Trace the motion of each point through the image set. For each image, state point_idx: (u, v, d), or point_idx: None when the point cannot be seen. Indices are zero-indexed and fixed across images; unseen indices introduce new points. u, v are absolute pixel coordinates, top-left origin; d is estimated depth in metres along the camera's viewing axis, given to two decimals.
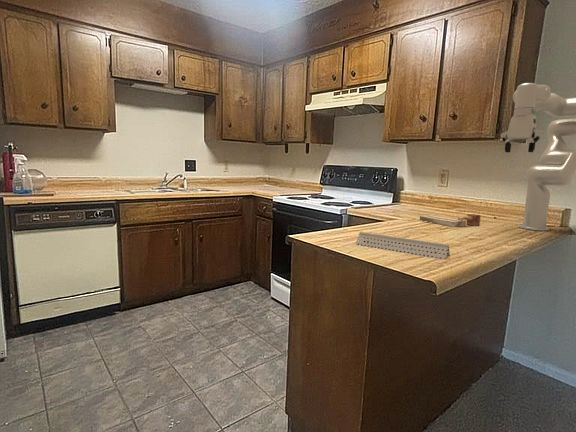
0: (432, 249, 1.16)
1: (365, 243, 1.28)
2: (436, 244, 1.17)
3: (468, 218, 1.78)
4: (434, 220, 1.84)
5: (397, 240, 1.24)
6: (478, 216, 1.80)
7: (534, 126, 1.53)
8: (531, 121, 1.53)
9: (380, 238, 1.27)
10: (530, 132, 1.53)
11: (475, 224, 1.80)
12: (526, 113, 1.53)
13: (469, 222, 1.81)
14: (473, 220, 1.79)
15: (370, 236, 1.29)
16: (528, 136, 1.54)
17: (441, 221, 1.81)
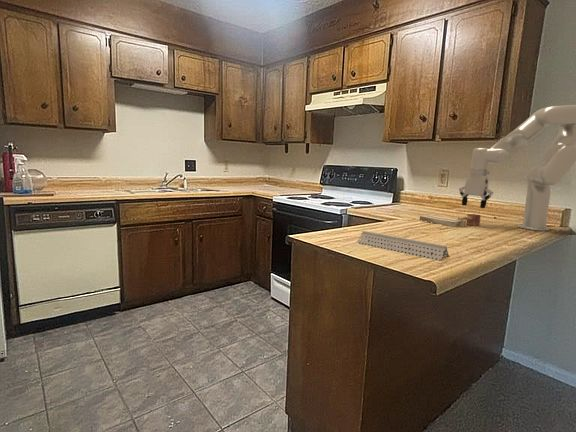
0: (429, 250, 1.15)
1: (366, 242, 1.30)
2: (434, 245, 1.15)
3: (468, 218, 1.78)
4: (434, 220, 1.84)
5: (397, 240, 1.24)
6: (478, 216, 1.80)
7: (486, 186, 1.75)
8: (483, 181, 1.74)
9: (381, 237, 1.28)
10: (482, 191, 1.75)
11: (475, 224, 1.80)
12: (479, 174, 1.75)
13: (469, 222, 1.81)
14: (473, 220, 1.79)
15: (372, 235, 1.31)
16: (480, 194, 1.75)
17: (441, 221, 1.81)
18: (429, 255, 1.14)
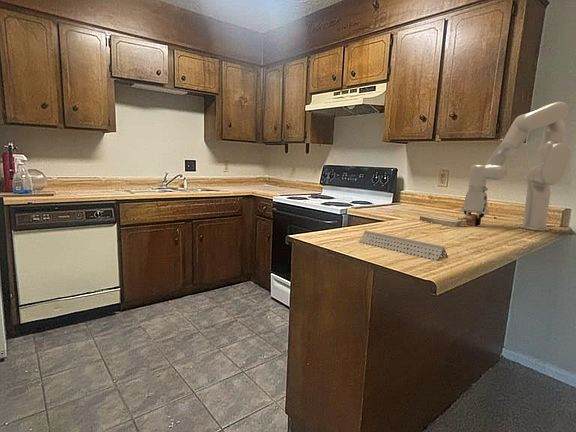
0: (427, 250, 1.15)
1: (367, 241, 1.31)
2: (432, 245, 1.15)
3: (468, 218, 1.78)
4: (434, 220, 1.84)
5: (396, 240, 1.24)
6: None
7: (485, 202, 1.76)
8: (482, 198, 1.75)
9: (382, 237, 1.29)
10: (481, 207, 1.76)
11: None
12: (478, 191, 1.76)
13: (469, 222, 1.81)
14: (473, 220, 1.79)
15: (373, 235, 1.32)
16: (480, 211, 1.77)
17: (441, 221, 1.81)
18: (426, 255, 1.14)
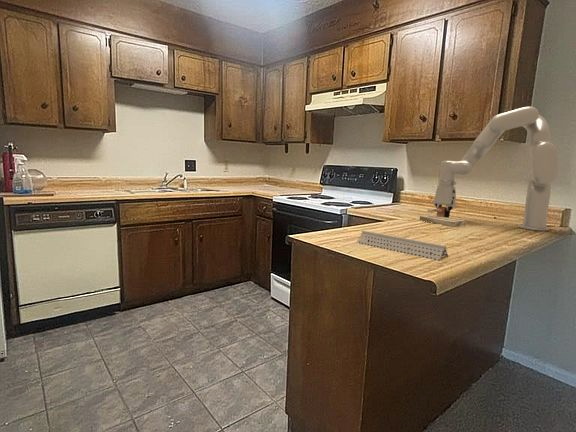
0: (428, 250, 1.16)
1: (366, 242, 1.31)
2: (433, 245, 1.16)
3: (437, 210, 1.90)
4: (434, 220, 1.84)
5: (396, 240, 1.24)
6: None
7: (453, 195, 1.88)
8: (450, 192, 1.88)
9: (380, 237, 1.29)
10: (450, 200, 1.88)
11: (444, 216, 1.92)
12: (447, 185, 1.88)
13: (439, 214, 1.93)
14: (442, 212, 1.91)
15: (371, 235, 1.31)
16: (448, 203, 1.89)
17: (441, 221, 1.81)
18: (428, 255, 1.14)
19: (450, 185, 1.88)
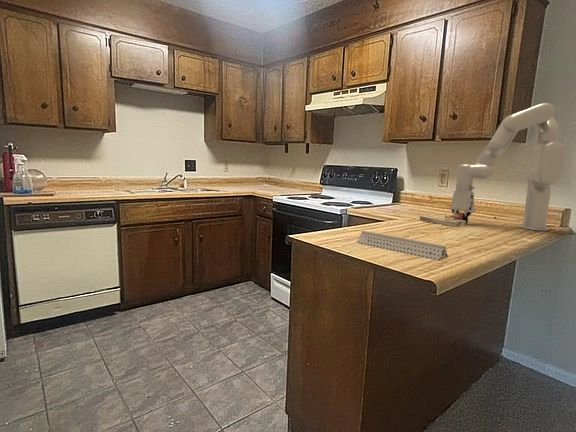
0: (428, 250, 1.16)
1: (365, 242, 1.31)
2: (432, 245, 1.16)
3: (455, 216, 1.82)
4: (434, 220, 1.84)
5: (396, 240, 1.24)
6: None
7: (471, 201, 1.80)
8: (469, 197, 1.79)
9: (380, 237, 1.29)
10: (468, 206, 1.80)
11: None
12: (465, 190, 1.80)
13: None
14: (460, 218, 1.83)
15: (371, 235, 1.31)
16: (467, 209, 1.81)
17: (441, 221, 1.81)
18: (428, 255, 1.14)
19: (468, 190, 1.80)
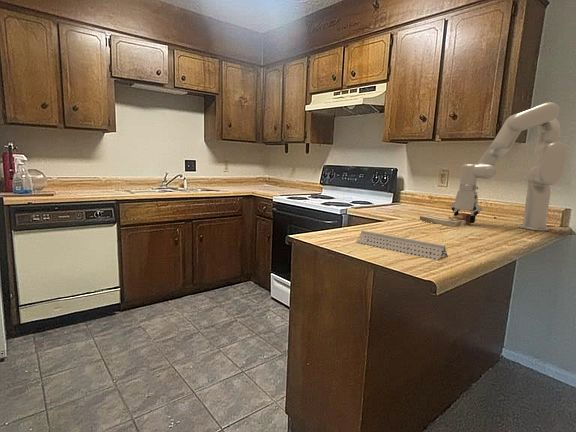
0: (428, 249, 1.16)
1: (365, 241, 1.31)
2: (432, 244, 1.16)
3: (459, 217, 1.80)
4: (434, 220, 1.84)
5: (395, 239, 1.25)
6: (469, 215, 1.82)
7: (475, 201, 1.79)
8: (472, 197, 1.78)
9: (380, 237, 1.29)
10: (472, 206, 1.78)
11: (466, 223, 1.82)
12: (468, 190, 1.78)
13: None
14: (464, 219, 1.82)
15: (371, 235, 1.31)
16: (470, 209, 1.79)
17: (441, 221, 1.81)
18: (427, 255, 1.15)
19: (472, 190, 1.78)
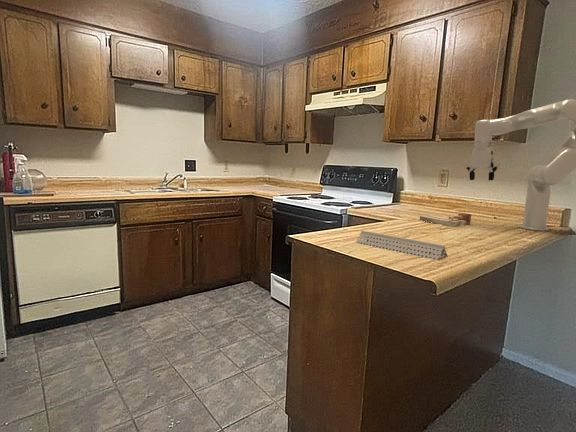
0: (427, 249, 1.16)
1: (365, 241, 1.31)
2: (432, 244, 1.16)
3: (459, 217, 1.80)
4: (434, 220, 1.84)
5: (395, 239, 1.25)
6: (469, 215, 1.82)
7: (492, 157, 1.73)
8: (489, 153, 1.72)
9: (379, 237, 1.29)
10: (489, 163, 1.72)
11: (466, 223, 1.82)
12: (484, 146, 1.73)
13: None
14: (464, 219, 1.82)
15: (370, 235, 1.32)
16: (487, 166, 1.73)
17: (441, 221, 1.81)
18: (427, 254, 1.15)
19: (488, 146, 1.73)
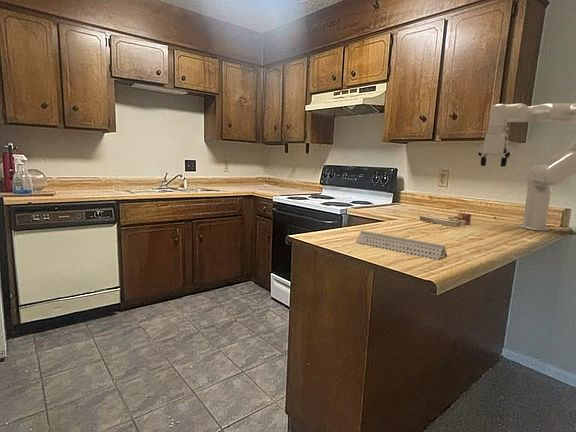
0: (427, 249, 1.16)
1: (364, 241, 1.31)
2: (432, 244, 1.16)
3: (459, 217, 1.80)
4: (434, 220, 1.84)
5: (395, 239, 1.25)
6: (469, 215, 1.82)
7: (506, 143, 1.69)
8: (503, 138, 1.68)
9: (379, 237, 1.29)
10: (502, 148, 1.69)
11: (466, 223, 1.82)
12: (498, 131, 1.69)
13: None
14: (464, 219, 1.82)
15: (370, 235, 1.32)
16: (500, 152, 1.70)
17: (441, 221, 1.81)
18: (427, 254, 1.15)
19: (502, 131, 1.69)
